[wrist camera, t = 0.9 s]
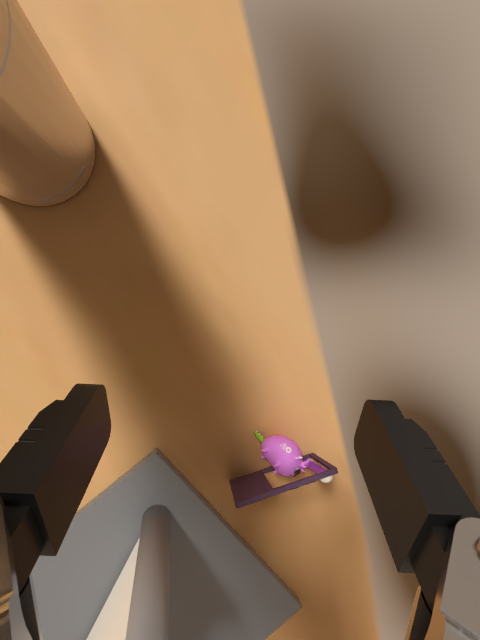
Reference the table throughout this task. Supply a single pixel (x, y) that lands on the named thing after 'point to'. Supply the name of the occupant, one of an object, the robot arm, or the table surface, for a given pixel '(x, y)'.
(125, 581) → the panel
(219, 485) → the table surface
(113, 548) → the board
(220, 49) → the table surface
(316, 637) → the table surface
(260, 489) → the purple decorated picture frame
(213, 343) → the table surface
